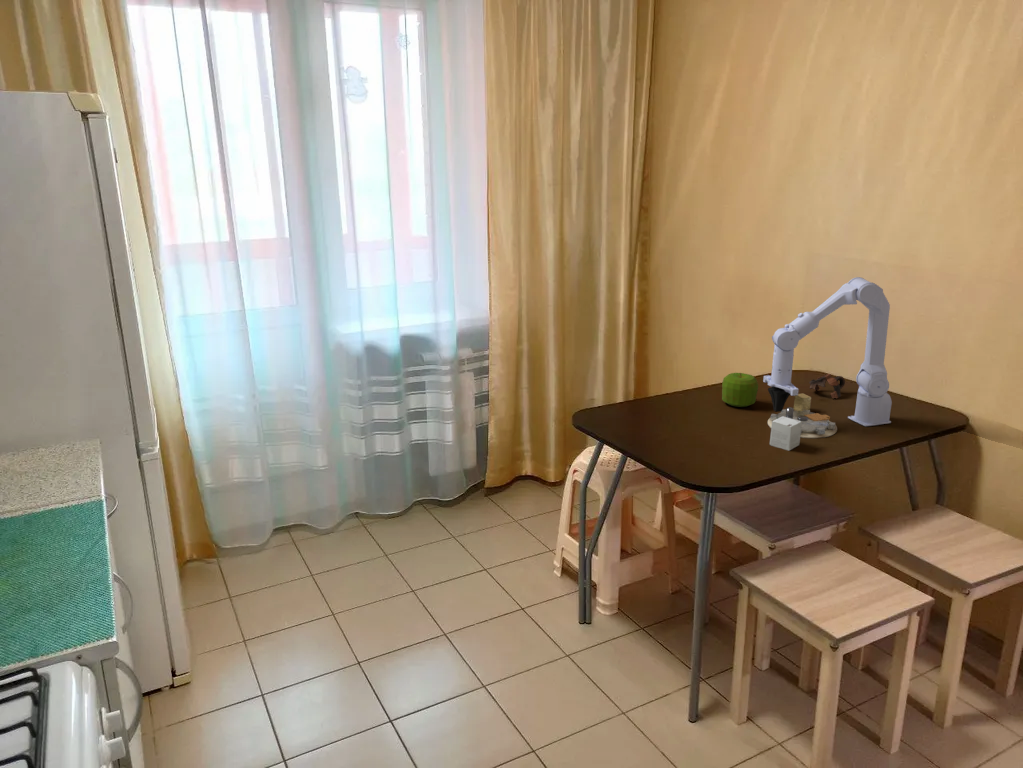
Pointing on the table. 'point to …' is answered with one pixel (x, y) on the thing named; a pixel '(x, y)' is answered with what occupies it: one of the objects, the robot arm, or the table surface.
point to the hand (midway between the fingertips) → (777, 410)
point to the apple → (739, 389)
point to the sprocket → (807, 420)
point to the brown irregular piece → (831, 381)
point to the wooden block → (802, 402)
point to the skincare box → (785, 433)
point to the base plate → (813, 435)
